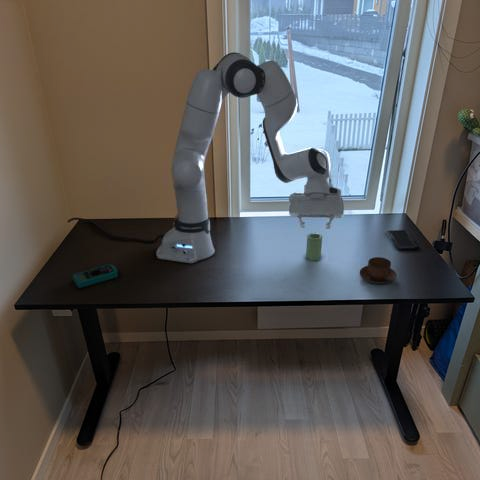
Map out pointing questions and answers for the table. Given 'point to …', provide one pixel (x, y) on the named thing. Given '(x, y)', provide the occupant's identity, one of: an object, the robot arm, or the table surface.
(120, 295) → the table surface
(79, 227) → the table surface
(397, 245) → the phone
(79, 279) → the digital multimeter
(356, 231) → the table surface
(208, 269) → the table surface
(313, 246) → the green cylindrical container
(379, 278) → the cup and saucer
